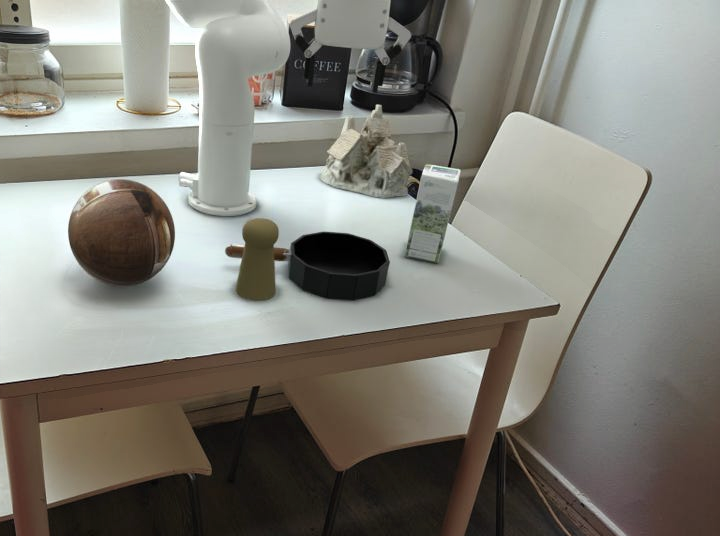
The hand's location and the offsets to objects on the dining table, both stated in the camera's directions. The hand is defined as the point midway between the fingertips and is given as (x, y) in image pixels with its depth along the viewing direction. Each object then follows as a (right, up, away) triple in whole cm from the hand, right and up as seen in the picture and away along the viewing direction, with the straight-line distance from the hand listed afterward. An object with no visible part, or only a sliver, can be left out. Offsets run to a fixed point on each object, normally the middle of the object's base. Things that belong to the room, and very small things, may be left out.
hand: (341, 87), depth 106 cm
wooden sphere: (-32, -29, 0) cm, 43 cm away
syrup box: (+16, -23, +14) cm, 31 cm away
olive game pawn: (-13, -31, -1) cm, 33 cm away
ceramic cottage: (+10, -5, +40) cm, 42 cm away
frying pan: (-5, -27, +5) cm, 28 cm away
